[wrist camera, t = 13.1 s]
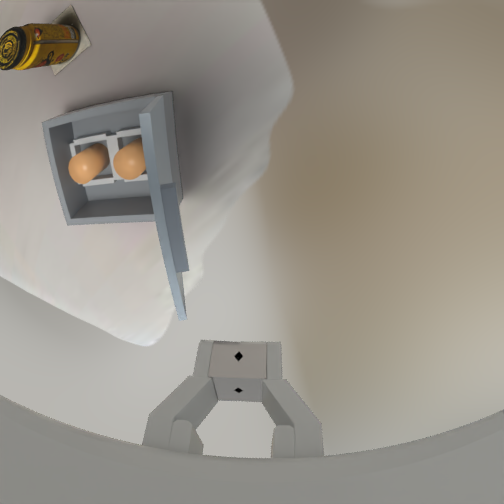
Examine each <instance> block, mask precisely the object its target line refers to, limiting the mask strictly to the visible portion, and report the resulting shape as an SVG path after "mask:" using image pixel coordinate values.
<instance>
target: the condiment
mask: <svg viewBox="0 0 504 504" xmlns="http://www.w3.org/2000/svg"><path fill="white" fill-rule="evenodd" d="M90 45H91V44H90V42H89V39H88V37H87V35H86V34H85V31H84V29H83V27H82V25H81V24H80V22H79V20H78V18H77V16H76V13H75V12H74V10H73V8H72V6H71V5H70V6H69V7H68V8H67V9H66V10H65V11H64V12H62V13H61V14H60V15H59V16H58V17H57V18H56V19H55V20H54V21H53V22H52V23H51V24H33V23H31V24H27V25H24V26H21V27H13V28H11V29H9V30H7V31H6V32H5V33H4V34H3V35H2V36H1V38H0V69H1V70H10V69H16V70H25V69H30V68H36V67H42V66H50V65H51V68H52V70H53V72H54V74H55V75H57V74H58V73H59V72H60V71H61V70H62V69H63V68H64V67H65V66H67V65H68V64H69V63H70V62H71V61H72V60H73V59H75V58H76V57H77V56H78V55H79V54H80V53H82V51H84V50H85V49H86V48H87V47H89V46H90Z"/></svg>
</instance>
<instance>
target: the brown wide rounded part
mask: <svg viewBox="0 0 504 504" xmlns="http://www.w3.org/2000/svg"><path fill="white" fill-rule="evenodd" d="M109 163H110V157H109V152H108V148H107V147H106V146H104V145H103V144H100V143H96V144H93V145H91V146H90V147H88V148H86V149H85V150H83V151H81V152H80V153H78V154H77V155H75V156H73V157H72V158H71V160H70V162H69V166H68V169H69V173H70V176H71V177H72V179H73V180H74V181H75V182H77V183H79V184H86V183H88V182H89V181H91V180H92V179H93V178H94V177H95V176H97V175H98V174H99V173H100V172H102V171H103V170H104V169H105V168H107V167H108V165H109Z"/></svg>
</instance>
